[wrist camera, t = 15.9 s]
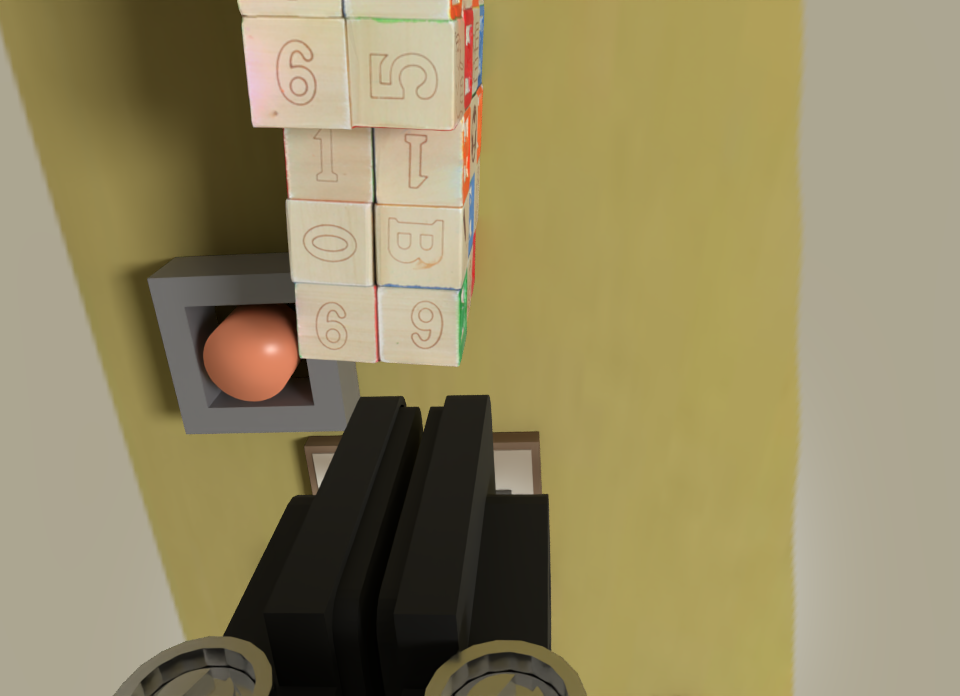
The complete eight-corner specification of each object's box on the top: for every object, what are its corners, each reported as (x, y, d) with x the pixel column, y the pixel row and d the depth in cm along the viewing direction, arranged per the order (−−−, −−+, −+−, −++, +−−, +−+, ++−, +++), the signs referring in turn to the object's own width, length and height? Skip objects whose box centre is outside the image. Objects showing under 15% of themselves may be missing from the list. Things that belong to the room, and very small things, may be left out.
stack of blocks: (478, 284, 38) (450, 412, 27) (348, 277, 39) (267, 399, 28) (497, -270, 29) (467, -418, 18) (327, -274, 30) (195, -420, 19)
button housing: (175, 257, 39) (147, 278, 36) (338, 250, 38) (322, 271, 35) (209, 404, 42) (186, 434, 39) (360, 400, 41) (347, 430, 39)
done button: (219, 298, 39) (194, 323, 36) (300, 296, 39) (281, 320, 36) (235, 373, 41) (213, 402, 38) (313, 371, 40) (296, 400, 38)
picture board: (309, 436, 43) (301, 450, 41) (538, 431, 41) (538, 446, 40) (350, 665, 49) (345, 683, 48) (549, 666, 48) (549, 685, 47)
